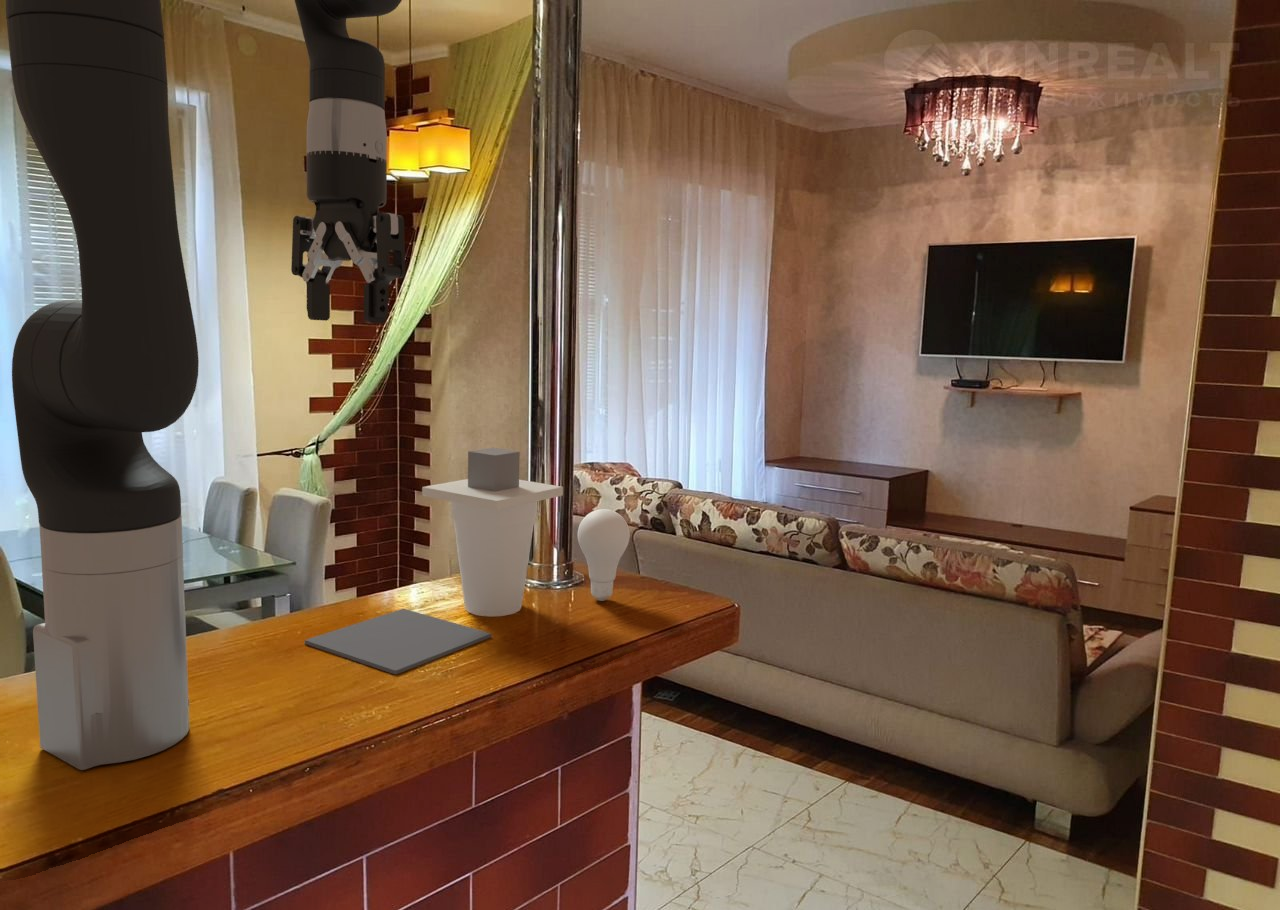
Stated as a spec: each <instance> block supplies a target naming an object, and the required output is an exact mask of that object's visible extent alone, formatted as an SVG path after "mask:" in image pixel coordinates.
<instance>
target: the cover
mask: <svg viewBox="0 0 1280 910" xmlns="http://www.w3.org/2000/svg"><path fill="white" fill-rule="evenodd" d="M520 454H521V453H520V451H518V450H511V449H503V448H497V447H496V448H495V447H488V448H483V449H482V448H481V449H476V450H475V449H474V450H468V453H467V478H465V479H459V480H454V481H449V482H443V483H437V484H432V485H426V486H422V488H421V494H422V495H421V496H422V497H425V498H430V499H436V500H441V501H442V500H443V501H447V502H456V503H461V504H467V505H472V506H477V507H482V508H487V509H493V510H501V509H505V508H509V507H514V506H518V505H523V504H527V503H532V502H536V501H537V502H539V501H543V500H544V501H545V500H549V499H554V498H558V497H562V496H564V495H563V494H564V487H563V486H559V485H554V484H549V483H542V482H537V481H530V480H524V479H520V458H521V457H520Z"/></svg>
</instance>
